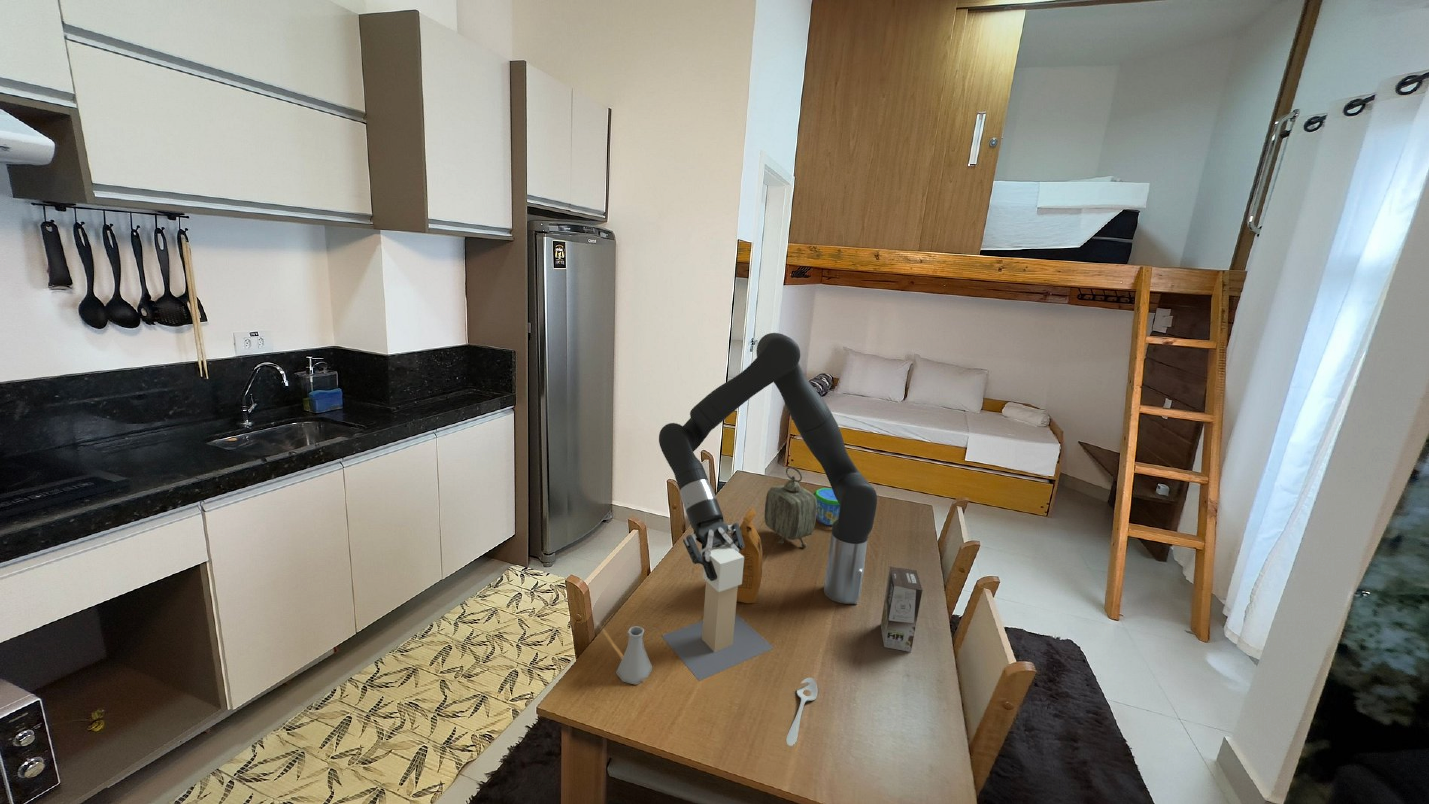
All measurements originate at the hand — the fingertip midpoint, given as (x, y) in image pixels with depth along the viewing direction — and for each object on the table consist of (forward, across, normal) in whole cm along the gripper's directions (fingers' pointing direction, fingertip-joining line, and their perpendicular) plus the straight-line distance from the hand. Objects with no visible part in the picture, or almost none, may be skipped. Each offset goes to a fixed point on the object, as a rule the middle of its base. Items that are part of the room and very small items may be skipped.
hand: (727, 575), depth 120 cm
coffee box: (+26, +39, +1) cm, 46 cm away
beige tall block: (+11, 0, +14) cm, 18 cm away
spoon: (+30, +2, -3) cm, 30 cm away
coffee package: (+2, +17, +24) cm, 30 cm away
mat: (+12, 0, +14) cm, 18 cm away
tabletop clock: (-8, +46, +34) cm, 58 cm away
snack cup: (-11, +69, +38) cm, 80 cm away
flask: (+11, -20, +15) cm, 27 cm away
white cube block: (0, 0, +3) cm, 3 cm away
